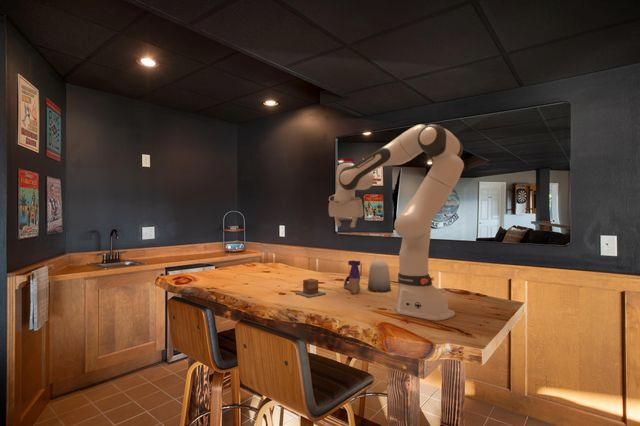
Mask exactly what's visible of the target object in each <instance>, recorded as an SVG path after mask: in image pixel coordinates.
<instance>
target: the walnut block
mask: <svg viewBox="0 0 640 426" xmlns="http://www.w3.org/2000/svg"><path fill="white" fill-rule="evenodd" d="M302 284H303V285H302V291H303V293H306V294H309V295H311V294H316V293H318V291H319V280H318V279H314V278H307V279H303V280H302Z"/></svg>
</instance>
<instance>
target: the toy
mask: <svg viewBox="0 0 640 426" xmlns="http://www.w3.org/2000/svg"><path fill="white" fill-rule="evenodd" d="M391 286H392V285H391V277H390V268H389V264H388V262H387V261H386V260H384V259H381V258H377V259H374V260H373V261H371V263H370V265H369V271H368V280H367V290H368V291H370V292H374V291H375V292H376V293H383V292H385V293H388V292H390V291H392V289H391V288H392V287H391Z"/></svg>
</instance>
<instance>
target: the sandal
mask: <svg viewBox="0 0 640 426" xmlns="http://www.w3.org/2000/svg"><path fill="white" fill-rule="evenodd" d="M347 263H348V266H350V269H349V270H350V271H349V275H348V276H346V277H345V280H344V281H343V282H344V283H343V289H346V290H349V291H351V292H350V293H351V294H352V295H358V292H359V290H360V288H361V285H360V282H361V272H360V270H359V266H360V265H361V260H348V262H347Z"/></svg>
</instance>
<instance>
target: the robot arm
mask: <svg viewBox="0 0 640 426" xmlns="http://www.w3.org/2000/svg"><path fill="white" fill-rule="evenodd" d="M463 151H464V149H463V144H462V142H461V141H460V139H459V138H458V137H456V136H455V135H454V134H453V133H452V132H451V131H449V130H448V129H447V128H444V127H443V126H441V125H439V124H436V123H435V124H434V123H433V124H428V125H426V124H421V123H420V124H417V125H414V126H413V127H411V128H408V129H407V130H406V131H404V132H402V133H401V134H400V135H398V136H397V137H395V138H394V139H393V140H392V141H390V142H389V143H387V144H385V145H383V147H381V148H379V149H378V150H376V151H374V152H372V153H371V154H369V155H367V156H366V157H364V158H363V159H361V160H359V161H358V162H357V163H353V162H342V163H340V164H339V165H337V168H336V176H335V177H336V178H335V179H336V180H335V182H336V191H335V194H332V195H331V196H329V197H328V201H329V203H328V216H329V217H331V218H333V217H334V221H335V224H336V225H335V226H336V227H341V226H342V222H341V221H340V219H341V218H351V220H352V221H351V223H349V224H350V225H349V226H350V228H355V227H356V223H357V221H358V218H363V216H364V206H363V199H362V198H361V197H358V196H357V197H356V191H366V190H369V189H370V188H372V186H373V184H374V182H375V181H374V180H375V179H374V175H373V173H372V172H374V171H375V170H377V169H379V168H382V167H385V166H386V167H387V166H400V165H403V164H406V163H407V162H410V161H411V160H413V159H415V158H416V157H417V156H418V155H421V154H422V153H423V152H424V153H425V154H426V155H427V157H428V158H432V165H431V168H430V169H429V171H428V172H427V174H426V176H425V177H424V179H423V180H422V182H421V184H420V186H419V187H418V189H417V190H416V192H415V193H414V194H413V196H412V197H411V198H410V200H409V201H408V202H407V204H406V205H405V206H404V208H403V209H402V210H401V212H400V214H399V215H398V216H397V217H396V219H395V221H394V224H393V225H394V230H395V233H396V234H397V235H398V236H399V237H400V238H402V239H401V245H400V249H399V254H398V255H399V256H398V258H399V262H398V263H399V265H398V266H399V267H398V268H399V269H398V275H397V282H398V291H397V292H398V293H397V299H396V303H395V306H394V309H395V310H396V312H397V314H399V315H404V316H409V317H415V318H419V319H424V320H429V321H435V322H436V321H444V320H447V319H451V318H453V317H454V316H455V311H454V310H453V309H452V310H451V309H449V303H448V299H447V297H446V296H445V295H444V294H443V293H442V292H441V291H440V290H439V289H438V288H437V287H435V285H433V282H432V281H435V276H434V277H433V276H432V277H431V275H430V274H429V251H430V242H431V234H432V233H431V231H432V229H431V228H432V220H433V219H434V217H435V216H436V215H437V214H438V213H439V211H440V210H441V208H442V207H443V206H444V205H445V202H446V201H447V199H448V198H449V197H450V195H451V193H452V192H453V190H454V189H455V186H457V183H458V181H459V179H460V177H461V175H462V172H463V170H464V168H465V164H464V160H462V159H461V156H462V155H463Z"/></svg>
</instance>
